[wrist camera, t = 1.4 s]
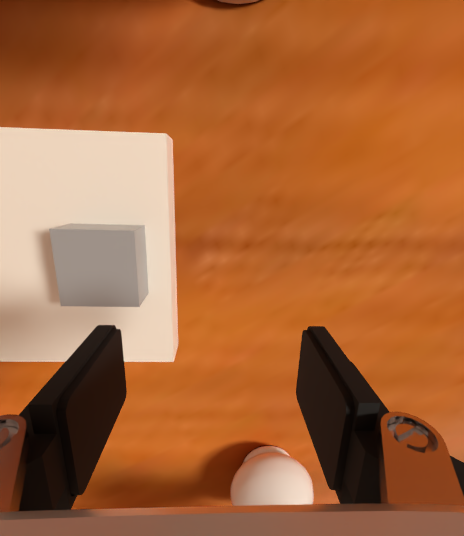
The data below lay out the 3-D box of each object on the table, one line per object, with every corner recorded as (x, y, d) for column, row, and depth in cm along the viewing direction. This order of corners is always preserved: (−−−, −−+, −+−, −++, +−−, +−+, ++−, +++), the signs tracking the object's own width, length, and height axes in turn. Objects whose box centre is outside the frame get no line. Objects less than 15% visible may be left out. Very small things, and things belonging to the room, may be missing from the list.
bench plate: (-21, 132, 24) (-54, 125, 21) (172, 139, 24) (166, 133, 22) (21, 344, 29) (0, 361, 26) (178, 344, 30) (173, 361, 27)
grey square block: (70, 223, 23) (49, 228, 20) (144, 225, 23) (134, 230, 21) (79, 292, 25) (60, 306, 22) (148, 293, 25) (139, 307, 22)
